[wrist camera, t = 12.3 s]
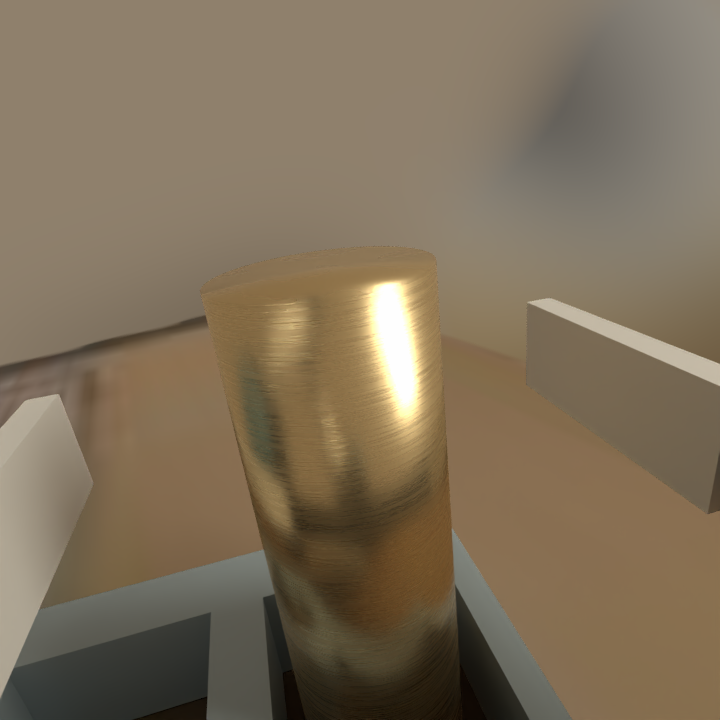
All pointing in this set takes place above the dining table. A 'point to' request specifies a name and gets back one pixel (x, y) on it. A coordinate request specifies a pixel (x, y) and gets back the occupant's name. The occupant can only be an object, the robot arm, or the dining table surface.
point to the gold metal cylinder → (348, 471)
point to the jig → (231, 650)
